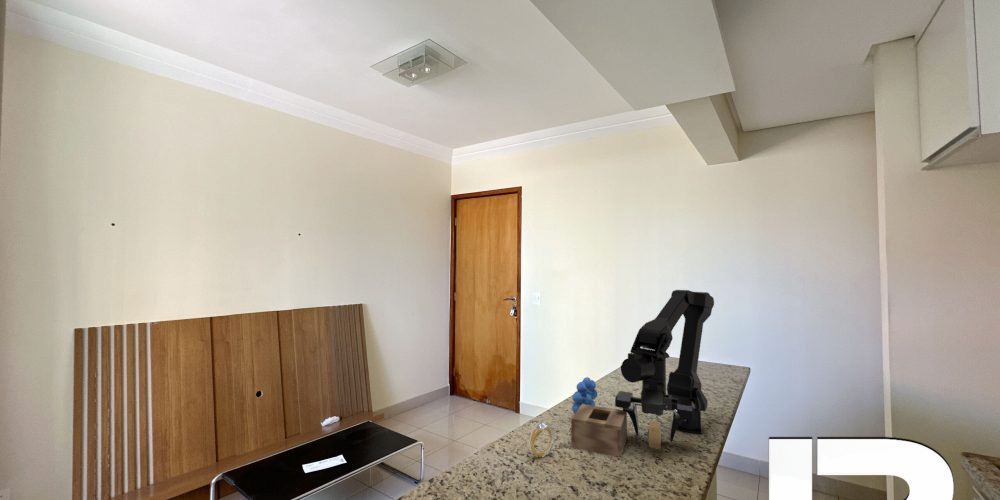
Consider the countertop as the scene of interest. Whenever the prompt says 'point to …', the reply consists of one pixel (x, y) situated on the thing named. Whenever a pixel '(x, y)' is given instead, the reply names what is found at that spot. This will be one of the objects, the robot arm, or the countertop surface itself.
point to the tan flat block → (654, 434)
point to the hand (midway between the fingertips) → (654, 438)
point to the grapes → (584, 394)
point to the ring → (534, 436)
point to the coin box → (599, 429)
